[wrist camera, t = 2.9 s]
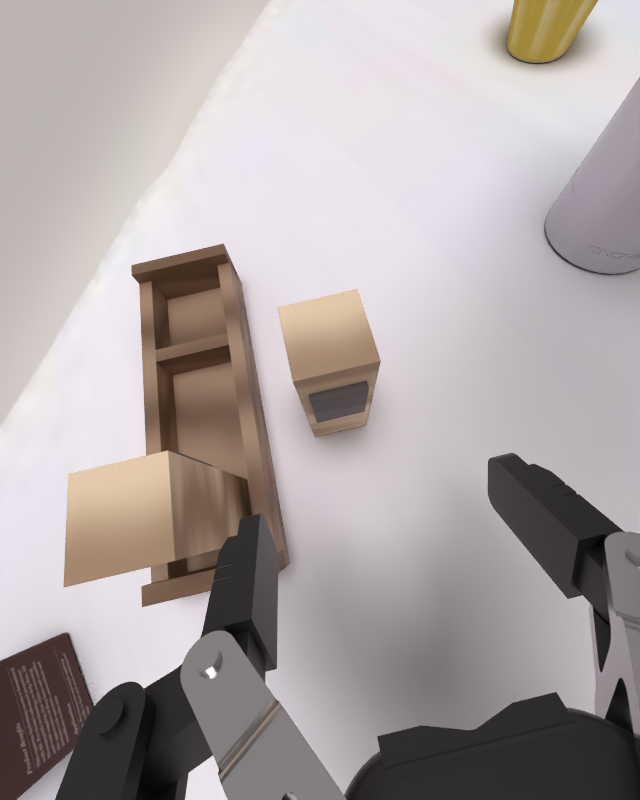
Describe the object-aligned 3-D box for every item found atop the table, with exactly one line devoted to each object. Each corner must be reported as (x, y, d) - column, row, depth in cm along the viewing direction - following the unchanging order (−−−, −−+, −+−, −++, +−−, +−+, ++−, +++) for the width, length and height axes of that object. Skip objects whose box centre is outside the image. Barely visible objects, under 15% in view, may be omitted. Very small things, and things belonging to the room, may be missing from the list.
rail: (161, 300, 30) (51, 172, 19) (240, 281, 30) (178, 142, 19) (181, 589, 22) (9, 667, 11) (289, 563, 22) (230, 614, 11)
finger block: (304, 389, 26) (277, 307, 16) (352, 377, 26) (357, 288, 16) (316, 442, 25) (294, 389, 14) (367, 429, 25) (383, 368, 14)
